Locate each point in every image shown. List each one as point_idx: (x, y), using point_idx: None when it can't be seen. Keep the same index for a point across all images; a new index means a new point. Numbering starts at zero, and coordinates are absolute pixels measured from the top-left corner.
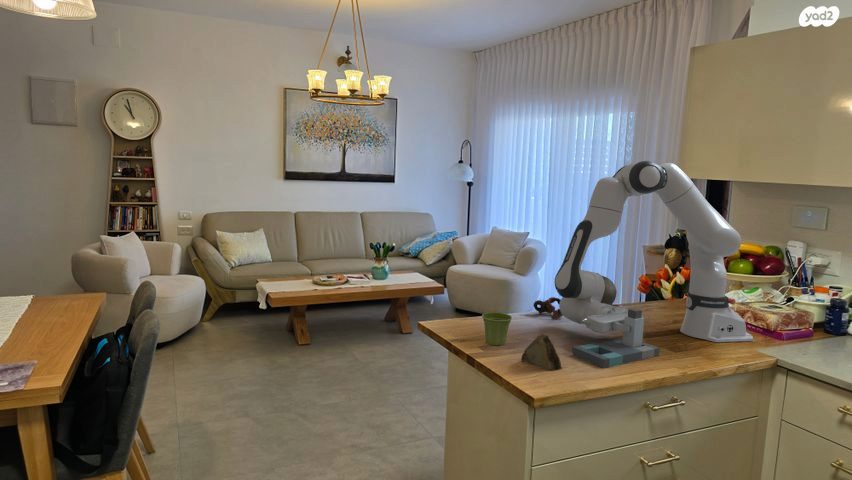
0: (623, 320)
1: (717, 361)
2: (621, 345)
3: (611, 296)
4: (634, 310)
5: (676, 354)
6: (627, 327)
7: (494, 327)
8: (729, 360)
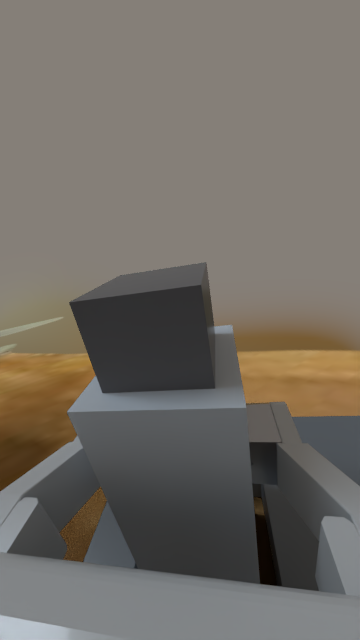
0: (158, 575)
1: (83, 368)
2: (313, 555)
3: None
4: (191, 268)
5: None
6: (287, 411)
7: None
8: (60, 365)
